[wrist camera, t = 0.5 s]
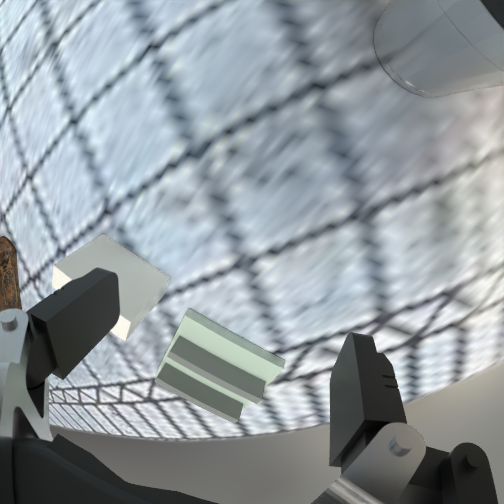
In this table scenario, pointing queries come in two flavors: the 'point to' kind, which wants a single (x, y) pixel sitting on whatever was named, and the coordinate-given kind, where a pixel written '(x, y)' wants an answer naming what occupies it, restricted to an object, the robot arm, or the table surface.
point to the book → (8, 276)
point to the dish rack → (216, 367)
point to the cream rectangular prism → (129, 276)
